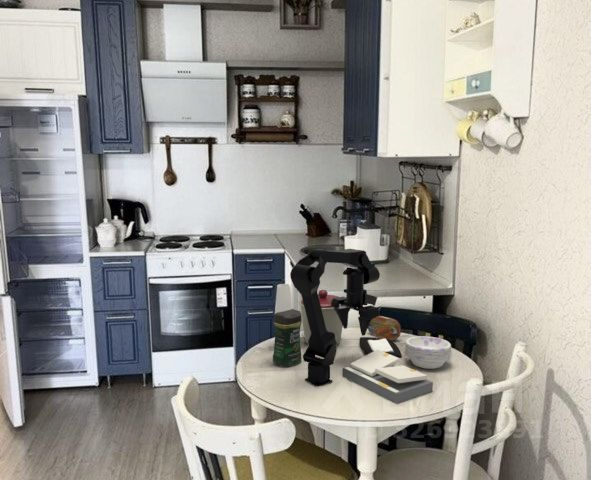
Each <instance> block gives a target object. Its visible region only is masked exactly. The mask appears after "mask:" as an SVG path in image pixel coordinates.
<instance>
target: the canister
mask: <svg viewBox="0 0 591 480" xmlns="http://www.w3.org/2000/svg"><path fill="white" fill-rule="evenodd" d="M317 293H318V297H319V301H320V305H321V309H322V313H323V318H324V322H325V326H326V330H327V331H329V332H332V333H334V334H335V340H336V342H337V344H336V346H337V345H339V343H340V342H341V338H342V334H343V333H342V332H343V328H344V327H343V325H342V323H341V321H340V319H339V317H338V315H337V313H336V311H335V310H334V309H333V308H334V307H331V301H332V300H333V298H338V297H339V296H338V295H334V294H329V293H328V291H327V290H326V289H321V290H319V291H317ZM298 304H299V305H300V313H301V318H302V323H301V324H302V329H303V330H302V331H303V337H304V340H305V342H306V344H307V345H308V346H309V342H308V340H309V338H310V335H311V331H310V327H309V323H308V319H307V315H306V311H305V308H304V304H303V300H302V298H301V299H300V300H299V301H298Z"/></svg>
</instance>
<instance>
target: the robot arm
mask: <svg viewBox="0 0 591 480" xmlns="http://www.w3.org/2000/svg"><path fill="white" fill-rule="evenodd" d="M315 263H318V264H317V265H316V266H312V265H314V264H315ZM327 263H329V264H332V263H333V264H341V265H345V266H347V267H346V269H345V270H343V272H342V275H346V287H345V288H344V289H343V293H344V294H346V295H345V296H338V298H333V300H332V301H331V307H334V308H333V309H334V310H335V311H336V313H337V315H338V317H339V319H340V321H341V323H342V325H343V327H342V328H343V329H344V330H347V329H348V325H349V324H348V323H349V312H350V311H351V310H353V311H356V312H358V315H359V316H358V318H357V319H358V323H359V324H358V325H359V330H360V333H361V337H365V336H366V334H367V332H368V326H369V324H370V322H371V320H372V319H373V318H376V317H377V316H381V315H380V313H381V311H380V308H379V307H377V306H376V304H377V300H378V297H377V296H375V295H371V294H368V291H367V289H364V287H365V286H364V285H367V284H372V283H374V282H375V283H376V282H377V281H379V278H380V276H381V275H380V274H381V273H380V271H379V269H378V268H377V267H376V263H375V262H371V259H370V258H369V256H368V254H367V251H365V250H363V249H354V248H346V249H343V250H340V251H339V250H327V249H320V248H314V249H312V250H311V251H310V252H309V254H307V255H306V256H304V257H302V258H301V259H299V260H298V261H297V263H296V264H295V265H294V266H293V268H292V269H291V271H290V273H289V274H290V275H289V276H290V280H291V282H292V284H293V287H294V288H295V289H296V290H297V292H298V293H299V294H300V295H301V299H302V300H303V304H304V308H305V311H306V315H307V319H308V323H309V327H310V331H311V335H310V338H309V340H308V342H309V345H308V346H307V348H306V349H305V351H304V353H303V355H302V359H303V362H305V363H307V377H306V378H304V381H305V382H307V383H309V384H311V385H312V386H314V387H317V388H318V387H321V386H325V385H327V384H331V383H333V380H332V379H331V366H333V365H334V364H335V359H336V354H337V349H338V348H337V345H338V344H337V342H336V340H335V334H334V333H332V332H329V331H327V330H326V326H325V322H324V318H323V313H322V309H321V305H320V301H319V297H318V290H319V287H320V284H321V277H322V276H323V275H324V274H325V269H326V265H327ZM348 266H349V267H348ZM336 344H337V345H336Z"/></svg>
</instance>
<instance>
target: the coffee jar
mask: <svg viewBox="0 0 591 480" xmlns="http://www.w3.org/2000/svg"><path fill="white" fill-rule="evenodd" d="M302 324H303V323H302V313H301V310H297V309H294V308H292V309H291V310H287V311H283V312H278V313H276V314H275V313H274V315H273V327H274V346H273V355H272V357H273V359H272V362H273V364H275V365H276V366H278V367H283V368H284V367H285V368H288V367H292V366H294V365H295V366H296V365H298V364H300V363H301V362H302V349H301V348H302V346H301V326H302Z"/></svg>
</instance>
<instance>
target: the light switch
mask: <svg viewBox="0 0 591 480" xmlns="http://www.w3.org/2000/svg"><path fill="white" fill-rule="evenodd" d="M359 346H360V347H361V349H362V351H363V353H364V354H365V356H366V355H368V354H370V353H372V352H374V351H376V350H377V349H378V350H380V351H383V352H385V353H388V354H390V355H393V356H395V357H397V358H399V359H402V358H403V356H402V353H401V350H400V348H399V347H398V345H397V344H396V343H395V342H394V340H390V339H383V338H378V337H373V336H372V337H367V336H366V337H365V336H360V337H359Z"/></svg>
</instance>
